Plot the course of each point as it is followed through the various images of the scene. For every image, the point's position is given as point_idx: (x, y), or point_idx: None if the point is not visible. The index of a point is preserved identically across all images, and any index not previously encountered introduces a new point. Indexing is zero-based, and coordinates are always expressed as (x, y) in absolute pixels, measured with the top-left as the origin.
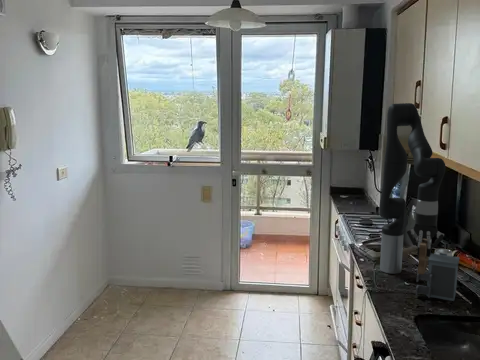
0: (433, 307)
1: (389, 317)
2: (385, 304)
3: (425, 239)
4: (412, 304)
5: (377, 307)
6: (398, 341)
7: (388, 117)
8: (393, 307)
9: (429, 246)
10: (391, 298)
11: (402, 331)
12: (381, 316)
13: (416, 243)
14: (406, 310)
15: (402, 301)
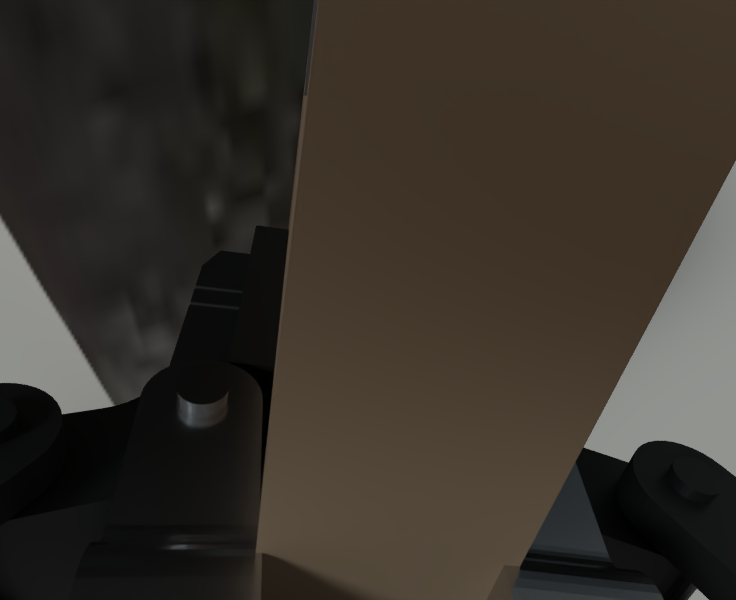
0: None
1: (147, 367)
2: (62, 188)
3: (387, 555)
4: (265, 117)
5: (27, 259)
6: None
7: None
8: (134, 222)
9: None
10: (69, 38)
11: None
12: (98, 370)
13: (77, 564)
14: (233, 242)
15: (177, 78)
